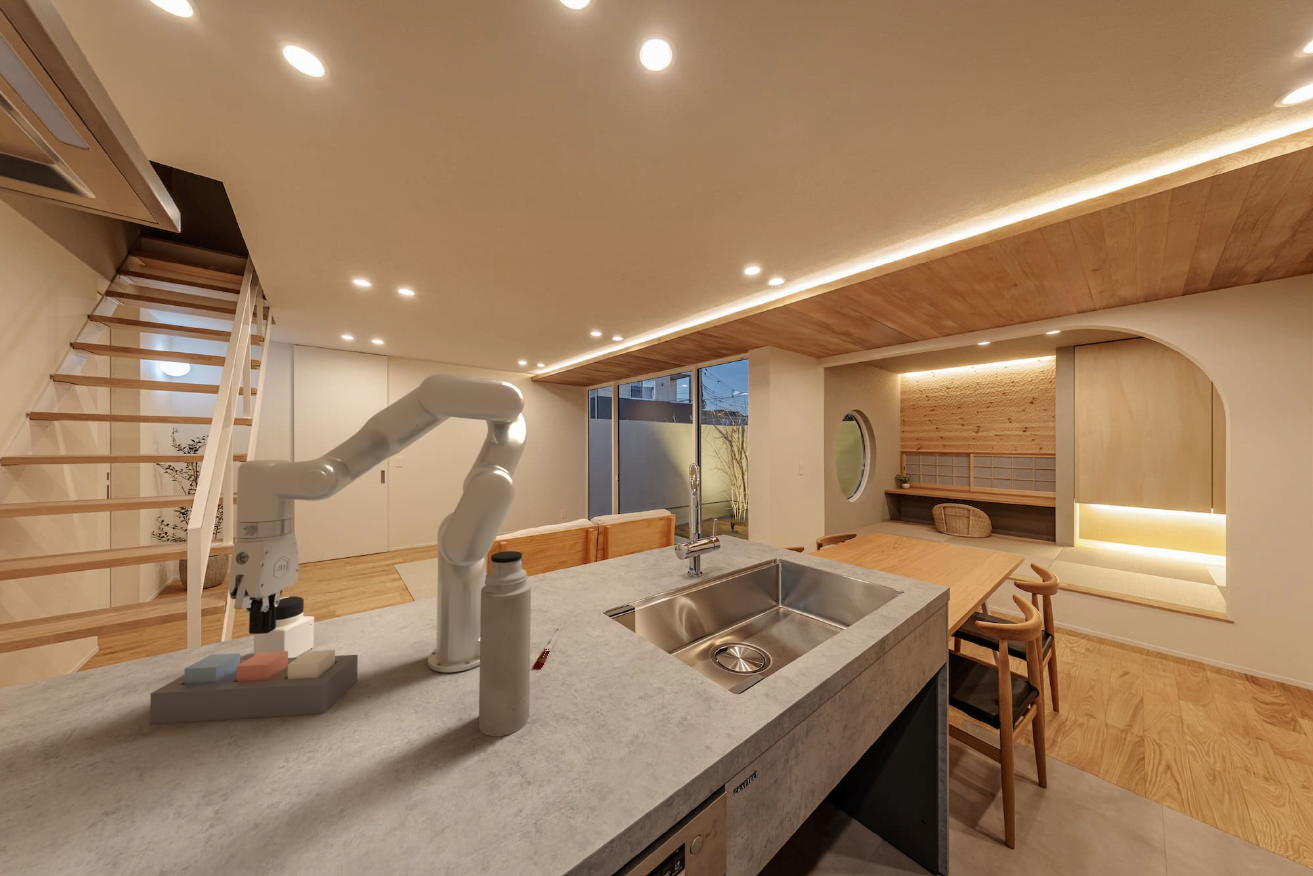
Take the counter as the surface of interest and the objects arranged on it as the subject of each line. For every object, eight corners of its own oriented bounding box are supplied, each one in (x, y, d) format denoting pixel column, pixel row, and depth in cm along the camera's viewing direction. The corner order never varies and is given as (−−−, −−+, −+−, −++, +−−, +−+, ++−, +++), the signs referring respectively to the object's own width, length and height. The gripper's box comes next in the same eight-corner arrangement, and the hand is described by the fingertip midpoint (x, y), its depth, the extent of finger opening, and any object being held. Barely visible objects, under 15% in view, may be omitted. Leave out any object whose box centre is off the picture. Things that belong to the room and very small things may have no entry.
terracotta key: (287, 670, 78) (288, 651, 78) (267, 684, 74) (267, 664, 74) (259, 671, 78) (259, 652, 78) (236, 686, 73) (236, 666, 73)
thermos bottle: (500, 701, 76) (503, 545, 76) (538, 711, 74) (540, 550, 74) (467, 729, 69) (470, 557, 69) (508, 741, 66) (511, 562, 66)
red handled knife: (567, 621, 111) (567, 618, 111) (541, 671, 87) (541, 667, 87) (559, 621, 111) (559, 618, 111) (532, 671, 87) (532, 666, 87)
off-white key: (334, 668, 79) (334, 649, 79) (317, 683, 75) (317, 663, 75) (306, 670, 79) (306, 651, 79) (287, 684, 74) (287, 664, 74)
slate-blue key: (239, 672, 77) (240, 653, 77) (215, 687, 73) (216, 667, 73) (210, 673, 77) (210, 654, 77) (184, 689, 72) (184, 668, 72)
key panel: (357, 680, 82) (357, 654, 82) (323, 713, 72) (323, 684, 72) (207, 688, 79) (207, 661, 79) (150, 724, 69) (150, 693, 69)
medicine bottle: (314, 648, 95) (315, 594, 95) (283, 664, 88) (284, 606, 88) (285, 646, 96) (286, 592, 96) (252, 662, 88) (253, 604, 89)
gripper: (254, 538, 69) (251, 651, 69) (316, 521, 84) (313, 614, 84) (202, 538, 68) (199, 653, 68) (274, 521, 83) (271, 615, 83)
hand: (262, 631), depth 76 cm, fingers closed
